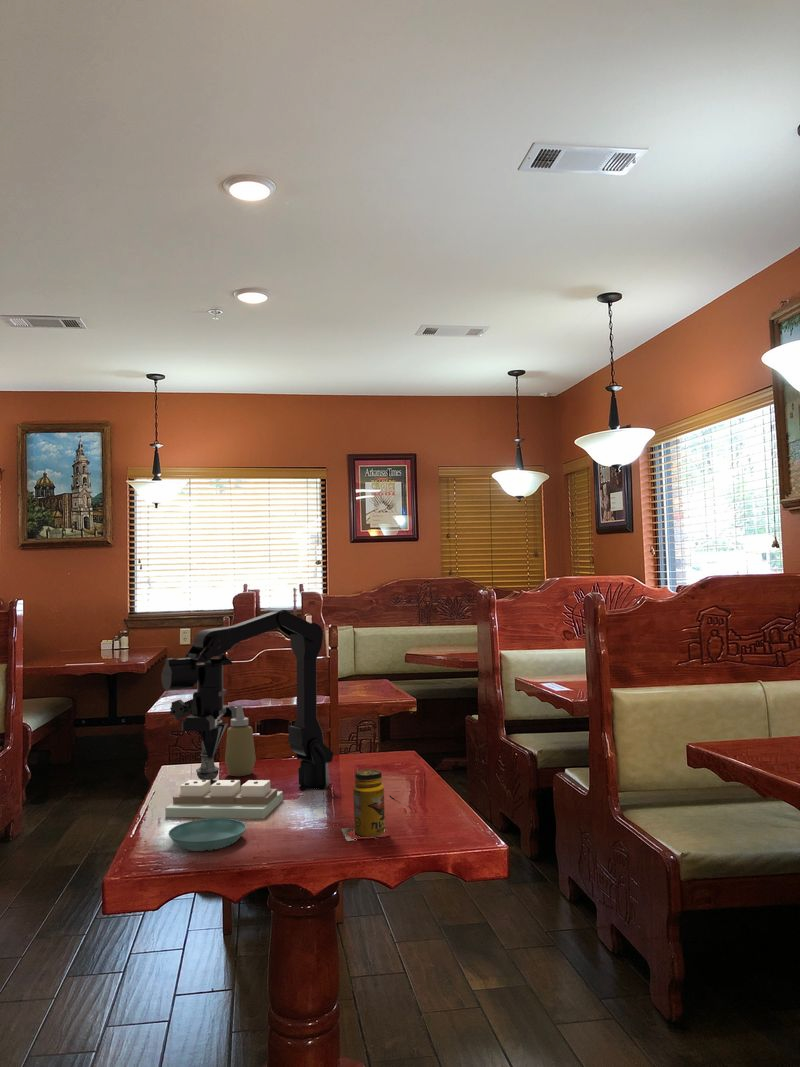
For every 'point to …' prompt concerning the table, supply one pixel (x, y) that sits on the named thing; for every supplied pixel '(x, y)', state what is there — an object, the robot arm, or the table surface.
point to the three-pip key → (195, 788)
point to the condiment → (368, 805)
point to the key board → (224, 806)
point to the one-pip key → (255, 788)
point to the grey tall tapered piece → (207, 767)
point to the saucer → (207, 833)
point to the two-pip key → (225, 788)
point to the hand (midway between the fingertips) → (210, 756)
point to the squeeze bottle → (240, 746)
